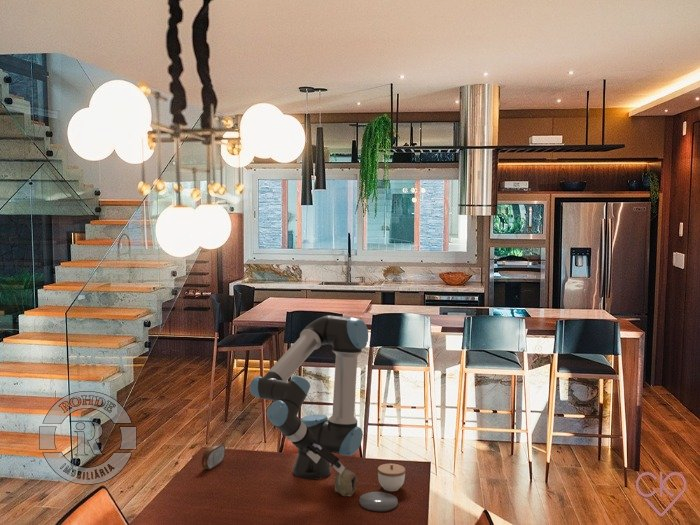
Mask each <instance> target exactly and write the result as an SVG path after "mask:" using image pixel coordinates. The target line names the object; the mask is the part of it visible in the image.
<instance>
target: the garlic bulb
mask: <svg viewBox="0 0 700 525" xmlns="http://www.w3.org/2000/svg"><path fill="white" fill-rule="evenodd" d="M358 481H359V480H358V478H357V475H356V474H355V473H354V472H353V471H351V470H349V469H348V468H345V469H344V471H343V472H342V474H340V473H339V472H338V471H337V473H336V475H335V478H334V485H335V486H334V491H335V492H336V493H338V494H340V495H341V496H342V497H352V496H353V494H354V493H355V492H356V489H357V486H358Z"/></svg>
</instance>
